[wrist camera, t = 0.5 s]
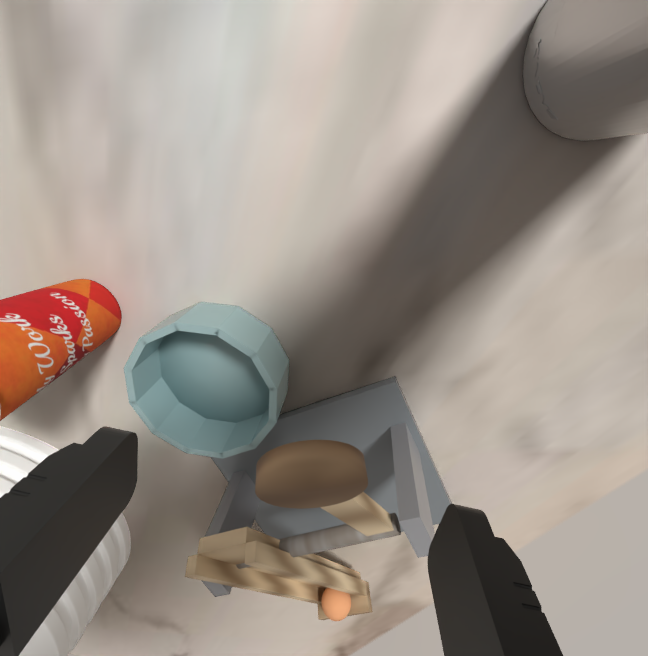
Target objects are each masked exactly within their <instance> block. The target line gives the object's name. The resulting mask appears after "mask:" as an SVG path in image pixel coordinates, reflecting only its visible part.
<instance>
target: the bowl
mask: <svg viewBox="0 0 648 656" xmlns="http://www.w3.org/2000/svg"><path fill="white" fill-rule="evenodd" d="M124 373H125V379H126V385H127V392H128V398H129V403H130V405H131V406H132V407H133V409H134V410H135V411H136V413H137V414H138V415H139V416H140V418H141V419H142V420H143V422H144V423H145V424H146V426H147V427H148V428H149V430H150V431H151V432H152V433H153V434H154V435H156V436H158V437H159V438H161V439H163V440H164V441H166V442H168V443H170V444H171V445H173V446H175V447H176V448H178V449H180V450H181V451H183V452H185V453H189V454H195V455H202V456H209V457H216V458H222V459H223V458H226V457H230V456H233V455H236V454H239V453H243V452H246V451H249V450H252V449H256V447H257V446H258V445H259V444H260V442H261V441H262V440H263V439H264V438H265V436H266V435H267V434H268V433H269V432H270V430H271V429H272V428H273V427H274V425H275V424H276V422H277V420H278V417H279V414H280V411H281V409H282V406H283V403H284V400H285V398H286V395H287V392H288V375H289V359H288V357H287V355H286V353H285V351H284V350H283V348H282V346H281V344H280V342H279V341H278V339H277V337H276V335H275V333H274V331H273V330H272V328H270V327H269V326H267V325H266V324H265V323H263V322H262V321H260V320H259V319H257V318H256V317H254V316H253V315H251V314H250V313H248V312H247V311H245V310H244V309H242V308H241V307H239V306H232V305H223V304H215V303H207V302H199V303H197V304H195V305H193V306H191V307H188V308H186V309H184V310H182V311H180V312H177V313H175V314H173V315H171V316H169V317H168V318H166V319H165V320H164V321H162V322H161V323H159V324H158V325H157V326H155V327H154V328H153V329H151V330H150V331H148V332H147V333H146V334H144V335H143V336H142V337H140V338H139V340H138V342H137V344H136V346H135V348H134V350H133V352H132V353H131V355H130V357H129V359H128V361H127V363H126V365H125V367H124Z"/></svg>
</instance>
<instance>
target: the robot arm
mask: <svg viewBox="0 0 648 656" xmlns="http://www.w3.org/2000/svg"><path fill="white" fill-rule="evenodd" d="M523 81H524V89H525V94H526V97H527V100H528V103H529V106H530V108H531V110H532V111H533V113H534V114H535V116H536V117H537V119H538V120H539V122H541V123H542V124H543V125H544V126H545V127H546V128H547V129H549V130H550V131H551V132H553V133H555V134H557V135H559V136H562V137H564V138H568V139H573V140H578V141H583V140H599V139H606V138H613V137H620V136H628V135H637V134H644V133H648V0H548V1H547V3H546V4H545V6H544V7H543V9H542V10H541V12H540V14H539V15H538V17H537V20H536V22H535V24H534V26H533V29H532V31H531V33H530V35H529V39H528V43H527V47H526V51H525V55H524V66H523ZM137 454H138V438H137V435H136V433H133V432H129V431H124V430H120V429H115V428H110V427H102V428H100V429H99V430H98V431H97V432H95V433H94V434H93V435H92V436H91V437H90V438H89V439H88V440H87V441H86V442H85V443H84V444H83V445H81V444H77V443H72V444H71V445H69V446H67V447H65V448H63V449H61V450H59V451H57V452H55V453H53V454H51V455H49V456H48V457H46V458H45V459H44V460H43V461H42V462H41V463H40V464H38V465H37V466H36V467H35V468H34V469H33V470H32V471H30V472H29V473H28V476H27V477H26V478H25V477H23V478H22V479H21V480H20V481H19V482H18V483H17V484H15V485H14V486H13V487H12V488H11V490H10V492H9V493H5V494H4V495H3V496H2V497H1V498H0V656H19V655H20V653H21V652H22V650H23V649H24V648H25V646H26V645H27V643H28V642H29V641H30V639H31V638H32V636H33V635H34V634H35V632H36V631H37V629H38V628H39V627H40V625H41V624H42V623H43V621H44V620H45V618H46V617H47V616H48V614H49V613H50V611H51V610H52V609H53V607H54V606H55V604H56V603H57V602H58V600H59V599H60V598H61V596H62V595H63V593H64V592H65V591H66V589H67V588H68V586H69V585H70V584H71V582H72V581H73V579H74V578H75V577H76V575H77V574H78V572H79V571H80V570H81V568H82V567H83V566H84V564H85V563H86V561H87V560H88V559H89V557H90V556H91V554H92V553H93V552H94V550H95V549H96V547H97V546H98V545H99V543H100V542H101V541H102V539H103V538H104V536H105V535H106V534H107V532H108V531H109V529H110V528H111V527H112V525H113V524H114V522H115V521H116V520H117V518H118V517H119V516H120V514H121V513H122V511H123V510H124V509H125V507H126V506H127V504H128V503H129V501H130V499H131V497H132V495H133V492H134V490H135V487H136V482H137ZM428 572H429V578H430V583H431V588H432V594H433V599H434V604H435V609H436V614H437V620H438V625H439V630H440V635H441V640H442V645H443V651H444V656H563V654H562V652H561V650H560V647H559V645H558V643H557V641H556V639H555V637H554V634H553V632H552V630H551V627H550V625H549V623H548V621H547V618H546V616H545V614H544V613H542V612H541V605H540V603H539V601H538V598H537V596H536V594H535V592H534V591H532V585H531V583H530V580H529V578H528V576H527V574H526V572H525V569H524V567H523V565H522V562H521V561H520V559H519V558H518V557H517V556H516V554H515V553H514V552H513V550H512V549H511V548H510V547H509V545H508V544H507V543H506V542H505V540H504V539H502V538H498V537H494V534H493V532H492V529H491V527H490V524H489V522H488V519H487V517H486V515H485V513H484V512H483V511H481V510H478V509H473V508H469V507H464V506H460V505H455V504H450V505H449V506H448V507H447V509H446V511H445V513H444V515H443V517H442V520H441V522H440V524H439V526H438V529H437V531H436V533H435V535H434V537H433V540H432V542H431V544H430V548H429V553H428Z"/></svg>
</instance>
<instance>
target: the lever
mask: <svg viewBox="0 0 648 656" xmlns="http://www.w3.org/2000/svg"><path fill="white" fill-rule="evenodd" d="M367 486H368V477H367V471H366V465H365V459H364V455H363V453H362V452H361V451H360V450H359V449H358V448H356V447H354V446H352V445H350V444H347V443H343V442H339V441H333V440H304V441H297V442H292V443H288V444H284V445H281V446H279V447H276V448H274V449H272V450H270V451H268V452H266V453H265V454H264V455H263V456H262V457H261V458H260V459H259V460H258V462H257V465H256V484H255V493H256V495H257V497H258V498H259V499H260V500H262V501H264V502H266V503H268V504H271V505H274V506H278V507H284V508H297V509H304V508H318V507H320V508H322V509H323V510H325V511H327V512H328V513H330V514H332V515H333V516H335V517H336V518H338V519H340V520H341V521H343V522H345V523H346V524H343V525H339V526H334V527H330V528H326V529H321V530H317V531H313V532H308V533H304V534H300V535H295V536H291V537H287V538H282V539H276V538H274V537H271V536H269V535H266V534H264V533H261V532H259V531H257V530H254V529H252V528H249V527H243V528H239V529H235V530H231V531H227V532H223V533H219V534H215V535H211V536H207V537H203V538H200V539H199V547H198V554H197V555H192V556H188V561H187V567H186V574H185V577H188V578H193V579H198V580H203V581H208V582H213V583H218V584H223V585H228V586H232V587H237V588H242V589H247V590H252V591H257V592H262V593H267V594H272V595H277V596H282V597H287V598H292V599H297V600H301V601H306V602H311V603H316V604H318V617H319V620H326V619H329V618H328V617H327V616H326V615H325V613H324V612H323V609H322V604H321V600H322V595H323V593H324V591H325V589H326V588H327V587H328V588H331V589H335V590H338V591H342V592H345V593H349V594H350V597H351V608H350V611H349V613H348V615H347V616H351V615H357V614H364V613H370V612H372V606H371V598H370V591H369V584H368V582H366V581H363V580H361V577H360V572H357V571H355V570H352V569H350V568H347V567H345V566H342V565H340V564H337V563H335V562H333V561H330V560H328V559H325V558H323V557H320V556H318V555H315V554H313V553H317V552H322V551H326V550H331V549H336V548H340V547H345V546H350V545H355V544H359V543H364V542H369V541H373V540H378V539H383V538H387V537H392V536H397V535H400V534H401V528H400V524H399V520H398V517H397V515H396V513H391V514H389V513H388V512H387V511H386V510H385V509H383V508H382V507H381V506H380V505H379V504H377V503H376V502H375V501H374V500H373V499H372V498H370V497H369V496H368V495H367V494H366V493H364V492H363V491H364V490H365V489H366V488H367Z"/></svg>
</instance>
